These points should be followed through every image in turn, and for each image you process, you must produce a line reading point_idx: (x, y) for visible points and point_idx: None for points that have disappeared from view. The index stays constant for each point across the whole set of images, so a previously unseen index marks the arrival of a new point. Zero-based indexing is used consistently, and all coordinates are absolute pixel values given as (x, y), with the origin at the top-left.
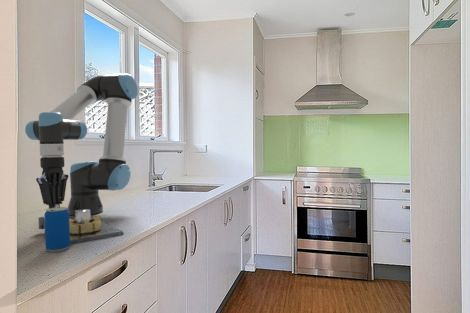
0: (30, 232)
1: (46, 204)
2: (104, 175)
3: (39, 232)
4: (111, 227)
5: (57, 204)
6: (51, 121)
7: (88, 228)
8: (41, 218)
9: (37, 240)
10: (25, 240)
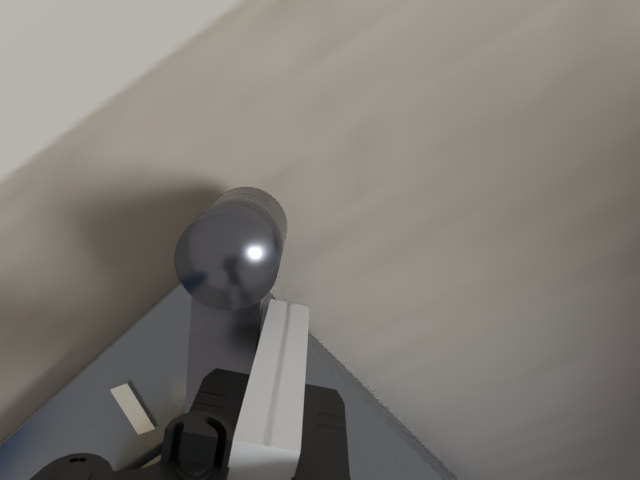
0: (273, 71)
1: (174, 428)
2: None
3: (273, 164)
4: None
5: None
6: None
7: None
8: (178, 272)
9: (25, 301)
10: (6, 206)
